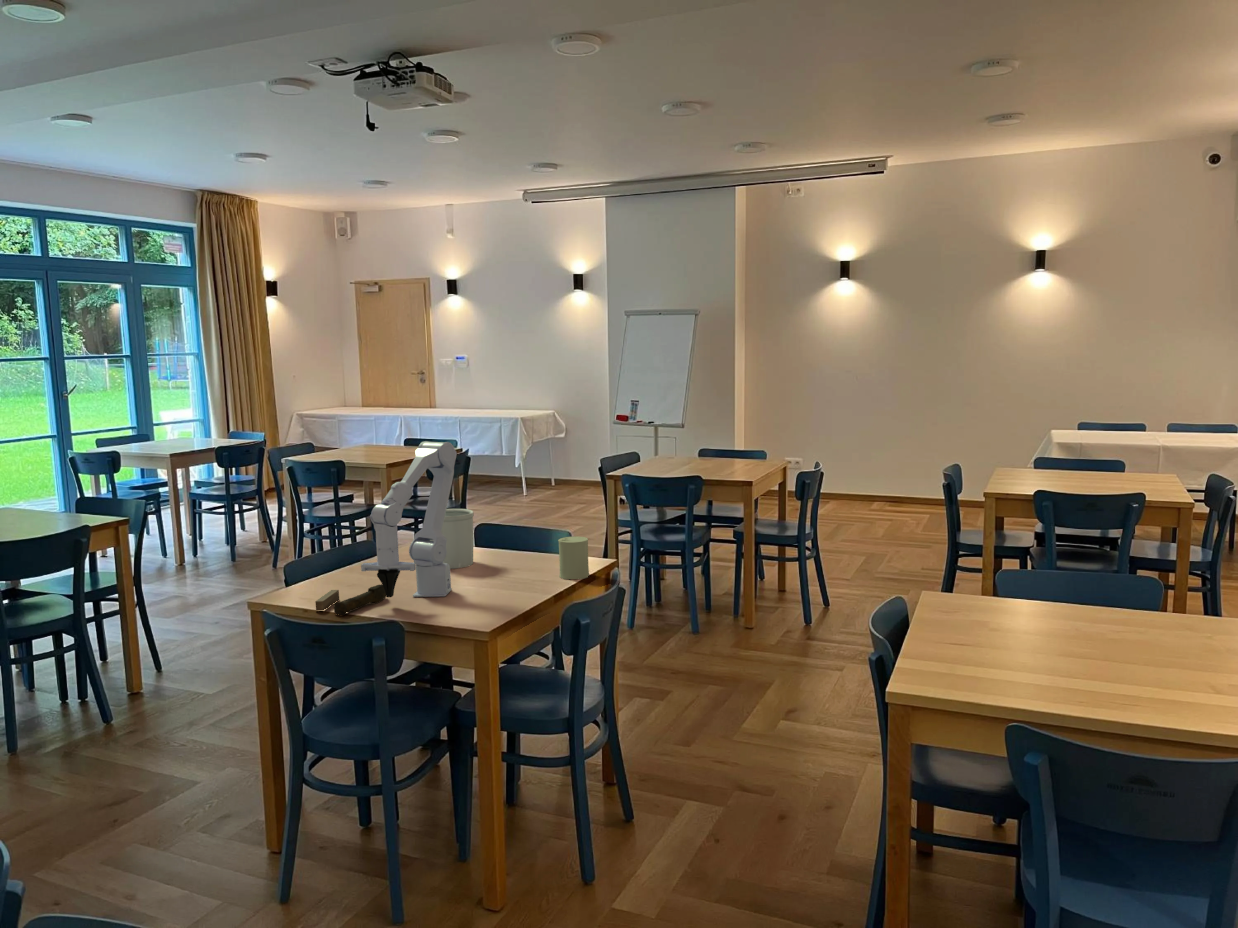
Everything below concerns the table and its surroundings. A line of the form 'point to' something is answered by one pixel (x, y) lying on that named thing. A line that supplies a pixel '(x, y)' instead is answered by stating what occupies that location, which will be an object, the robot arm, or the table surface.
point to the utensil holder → (458, 537)
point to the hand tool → (360, 600)
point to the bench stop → (327, 600)
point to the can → (573, 557)
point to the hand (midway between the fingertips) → (389, 596)
